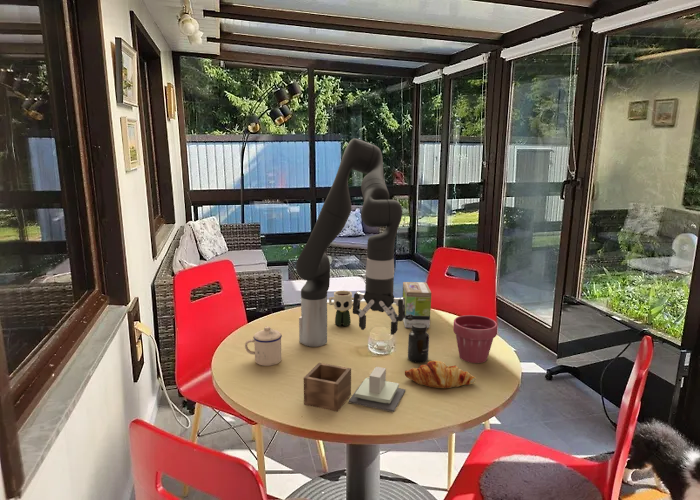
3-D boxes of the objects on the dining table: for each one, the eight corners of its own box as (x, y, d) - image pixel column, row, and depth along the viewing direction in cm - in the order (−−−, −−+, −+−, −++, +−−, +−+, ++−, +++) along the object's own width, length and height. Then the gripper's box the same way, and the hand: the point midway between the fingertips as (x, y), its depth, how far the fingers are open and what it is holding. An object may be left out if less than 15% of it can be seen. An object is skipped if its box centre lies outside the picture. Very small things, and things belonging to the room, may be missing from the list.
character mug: (328, 327, 188) (328, 295, 185) (329, 320, 195) (329, 290, 192) (356, 328, 187) (356, 296, 185) (356, 321, 194) (357, 290, 191)
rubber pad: (348, 402, 133) (348, 400, 133) (362, 383, 144) (363, 381, 144) (393, 412, 129) (394, 409, 128) (405, 391, 140) (405, 389, 139)
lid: (354, 400, 133) (355, 376, 132) (366, 383, 143) (366, 361, 141) (389, 406, 130) (390, 383, 128) (398, 389, 139) (399, 367, 138)
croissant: (473, 390, 147) (473, 363, 150) (479, 390, 138) (479, 362, 140) (403, 385, 149) (404, 359, 151) (404, 385, 140) (405, 357, 142)
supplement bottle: (427, 364, 157) (429, 329, 154) (406, 362, 158) (407, 328, 155) (428, 355, 163) (430, 322, 161) (408, 353, 165) (409, 320, 162)
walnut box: (303, 404, 132) (303, 377, 130) (319, 387, 141) (318, 362, 139) (337, 411, 128) (337, 384, 127) (350, 394, 138) (351, 368, 136)
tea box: (430, 328, 187) (432, 292, 184) (404, 328, 188) (405, 292, 184) (425, 315, 202) (426, 281, 199) (401, 315, 202) (402, 281, 199)
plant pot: (451, 347, 170) (453, 312, 167) (492, 350, 168) (495, 315, 165) (452, 365, 156) (454, 327, 154) (496, 369, 154) (499, 331, 151)
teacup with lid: (283, 354, 163) (282, 321, 161) (280, 366, 155) (280, 332, 152) (247, 354, 163) (246, 322, 160) (243, 366, 154) (241, 332, 152)
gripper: (349, 274, 128) (348, 332, 131) (401, 281, 123) (399, 340, 126) (359, 268, 134) (358, 323, 138) (409, 274, 129) (406, 330, 133)
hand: (378, 331), depth 132 cm, fingers open, 8 cm apart
